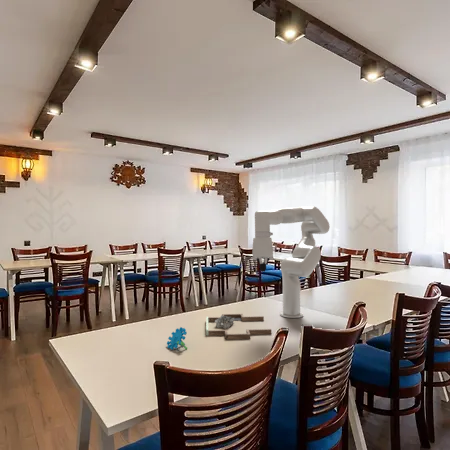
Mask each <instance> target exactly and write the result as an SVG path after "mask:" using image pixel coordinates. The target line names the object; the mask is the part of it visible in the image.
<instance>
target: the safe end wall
mask: <svg viewBox="0 0 450 450" xmlns="http://www.w3.org/2000/svg"><path fill="white" fill-rule="evenodd" d="M208 317H209V316H205V323H206V324H205V325H206V326H205V329H206V330H205V332H206V333H205V334H206V336H208V330H209V322H208ZM208 337H209V336H208Z"/></svg>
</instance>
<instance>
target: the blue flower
mask: <svg viewBox="0 0 450 450" xmlns="http://www.w3.org/2000/svg"><path fill="white" fill-rule="evenodd" d="M171 335H172V336H169V337H168V338H167V340H168V341H167V342H166V345H167V348H168V349H171V350H174V348H175V349H177V348H178V347H179V346H180V347H181V348H184V349H185V350H188V347H187V346H186V343H185V342H184V341H185V339H186V336H187V331H186V328H185V327H181V326H180V327H179V328H175V332H174V331H172V332H171ZM178 345H179V346H178Z"/></svg>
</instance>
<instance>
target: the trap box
mask: <svg viewBox="0 0 450 450" xmlns="http://www.w3.org/2000/svg"><path fill="white" fill-rule="evenodd" d="M222 315H223V316H228V317H231V318H241V322H256V321H257V322H258V321H259V322H262V321H263V322H264V321H265V318H264V316H263V315H261V316H260V315H259V316H254V315H253V316H244V315H243V313H222V314H221V316H222ZM221 316H220V317H221ZM207 317H208V323H213V322H214V323H215V320H217V319H218V318H220V317H219V316H215V317H214V316H213V317H211V316H210V317H209V316H207ZM245 331H246V333H228V329H219V330H218V329H216V330H213V329H211V330H210V329H208V337H209V336H224V337H225V338H224V339H225V340H246V339H247V340H249V339H250V340H251V335H272V328H260V329H259V328H258V329H257V328H256V329H246V330H245Z"/></svg>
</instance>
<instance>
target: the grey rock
mask: <svg viewBox="0 0 450 450" xmlns="http://www.w3.org/2000/svg"><path fill="white" fill-rule="evenodd" d="M233 320H234V318H231V317H228V316H223V315H222V314H221V316H220V318H218V319H217V320H215V322H214V323H215V327H216V328H218V329H220V328H223V329H229V328H230V327H231V326H232V325H234V321H233Z"/></svg>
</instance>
